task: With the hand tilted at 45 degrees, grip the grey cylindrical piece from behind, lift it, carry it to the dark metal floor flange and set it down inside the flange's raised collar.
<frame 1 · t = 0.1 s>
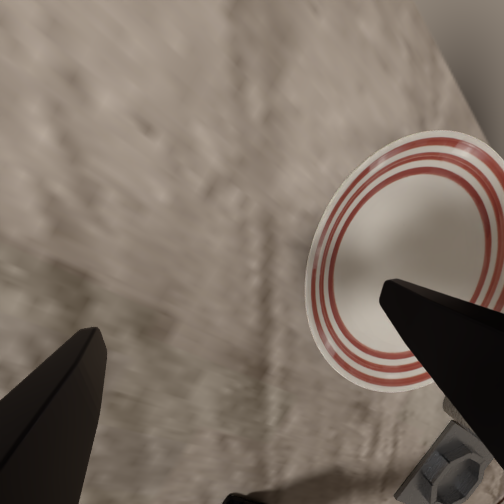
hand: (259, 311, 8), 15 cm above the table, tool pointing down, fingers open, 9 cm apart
dinner plate: (403, 265, 29), on the table
grey cylindrical piece: (457, 398, 37), on the table
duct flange: (447, 470, 40), on the table
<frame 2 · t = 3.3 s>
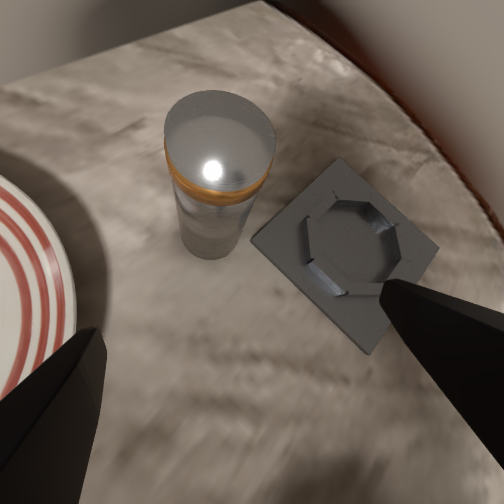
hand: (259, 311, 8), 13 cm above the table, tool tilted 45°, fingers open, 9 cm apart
grey cylindrical piece: (210, 232, 23), on the table
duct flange: (349, 245, 25), on the table
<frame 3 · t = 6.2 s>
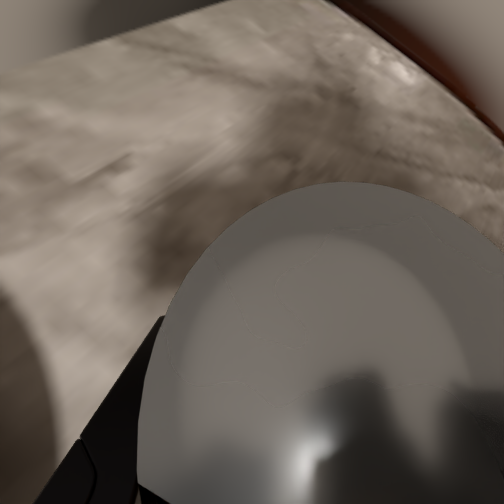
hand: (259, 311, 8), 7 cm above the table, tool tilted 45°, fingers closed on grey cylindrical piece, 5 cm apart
grey cylindrical piece: (237, 348, 14), on the table, touching gripper
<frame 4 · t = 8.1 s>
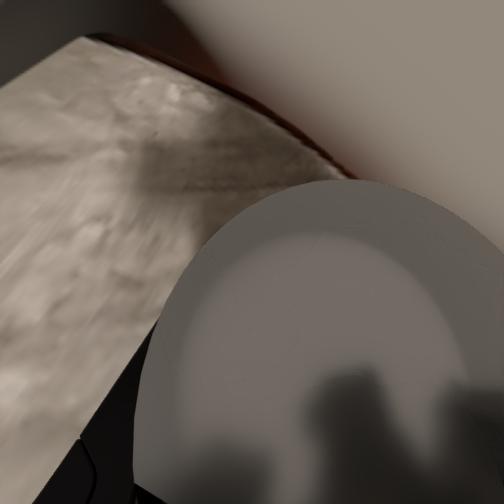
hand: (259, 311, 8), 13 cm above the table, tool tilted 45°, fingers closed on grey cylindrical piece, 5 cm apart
grey cylindrical piece: (236, 348, 14), point 7 cm above the table, touching gripper
when the fingers open (8 cm above the table, at t = 10.1 s): grey cylindrical piece stays where it is, resting on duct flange.
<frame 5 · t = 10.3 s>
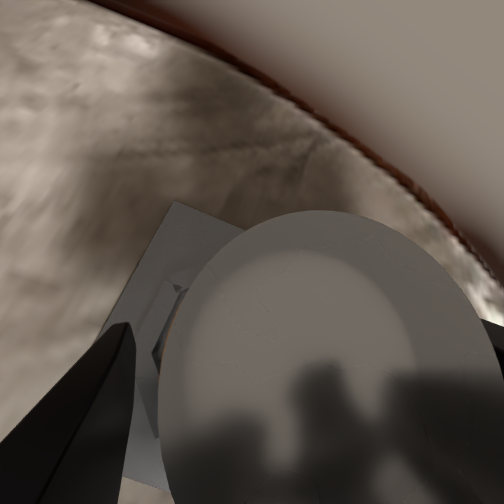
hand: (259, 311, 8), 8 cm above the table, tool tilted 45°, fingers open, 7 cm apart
grey cylindrical piece: (235, 348, 15), point 1 cm above the table, touching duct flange
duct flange: (234, 347, 15), on the table
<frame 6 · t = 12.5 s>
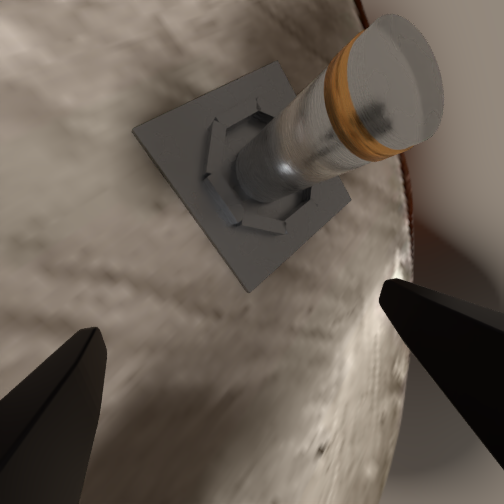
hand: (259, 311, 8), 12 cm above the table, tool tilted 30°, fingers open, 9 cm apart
grey cylindrical piece: (263, 172, 21), point 1 cm above the table, touching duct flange
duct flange: (261, 173, 22), on the table
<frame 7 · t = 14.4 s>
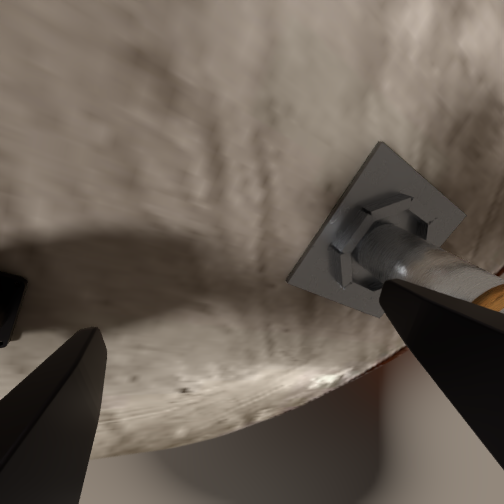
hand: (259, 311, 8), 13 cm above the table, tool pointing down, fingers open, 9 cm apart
grey cylindrical piece: (380, 247, 25), point 1 cm above the table, touching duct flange
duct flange: (377, 245, 26), on the table
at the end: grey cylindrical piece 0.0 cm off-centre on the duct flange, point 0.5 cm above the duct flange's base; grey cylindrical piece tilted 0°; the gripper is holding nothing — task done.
